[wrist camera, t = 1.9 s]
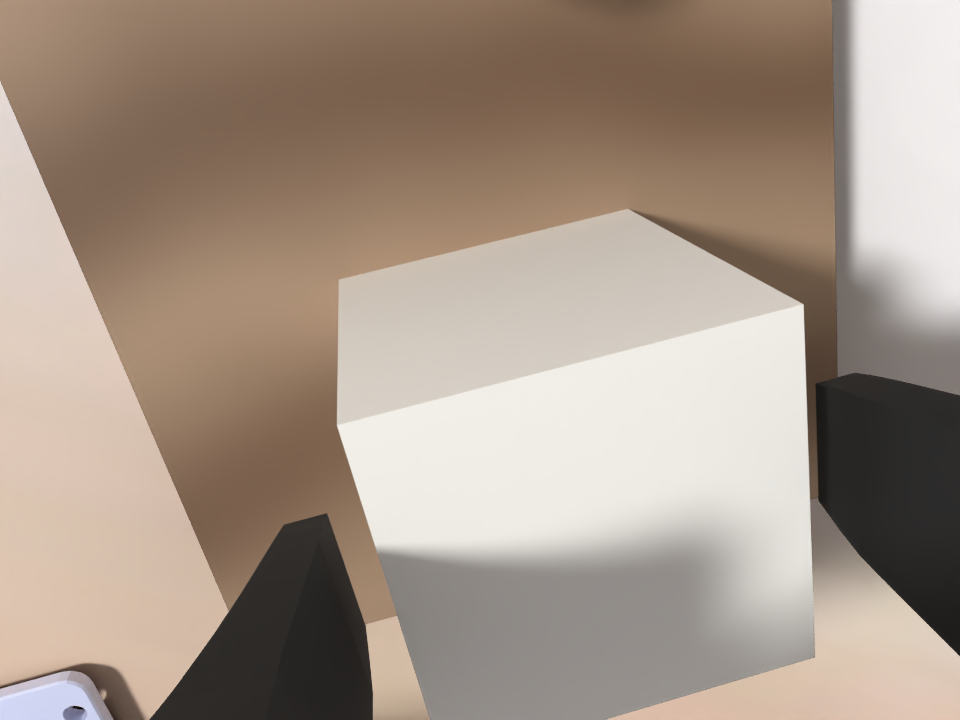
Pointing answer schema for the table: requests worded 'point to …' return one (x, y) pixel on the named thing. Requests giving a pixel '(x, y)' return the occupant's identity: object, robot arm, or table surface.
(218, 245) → the board
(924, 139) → the table surface
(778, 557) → the plaster cube
